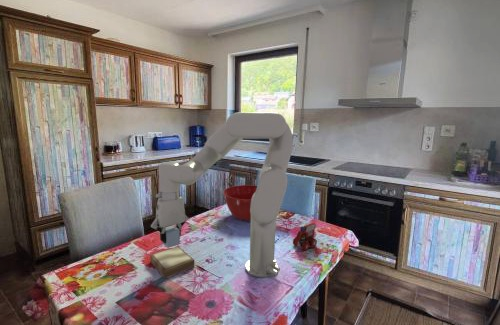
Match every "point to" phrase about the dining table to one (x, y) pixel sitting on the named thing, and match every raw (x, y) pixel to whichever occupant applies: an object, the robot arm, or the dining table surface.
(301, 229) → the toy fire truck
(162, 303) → the dining table surface
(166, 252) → the plinth
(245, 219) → the mixing bowl
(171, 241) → the block
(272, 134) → the robot arm
